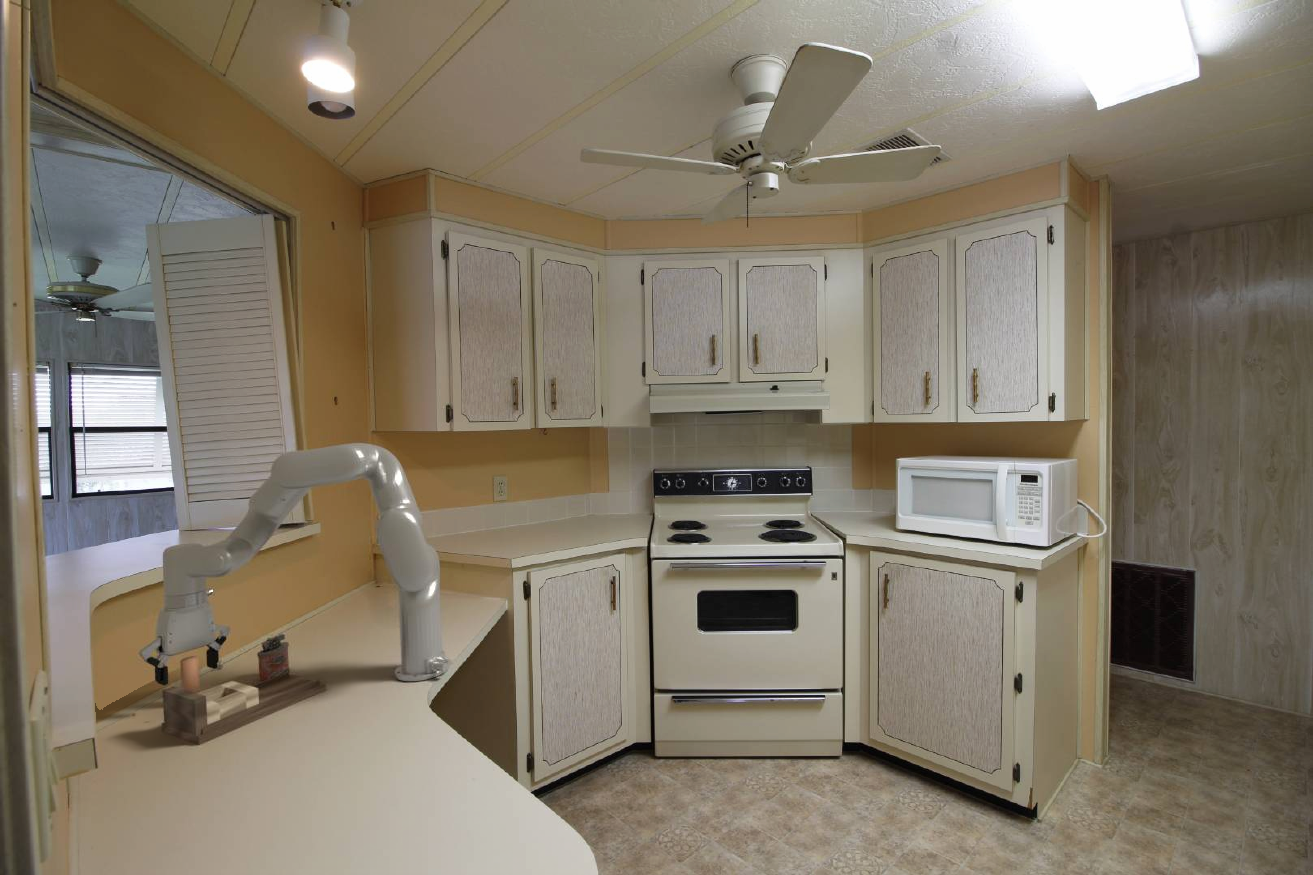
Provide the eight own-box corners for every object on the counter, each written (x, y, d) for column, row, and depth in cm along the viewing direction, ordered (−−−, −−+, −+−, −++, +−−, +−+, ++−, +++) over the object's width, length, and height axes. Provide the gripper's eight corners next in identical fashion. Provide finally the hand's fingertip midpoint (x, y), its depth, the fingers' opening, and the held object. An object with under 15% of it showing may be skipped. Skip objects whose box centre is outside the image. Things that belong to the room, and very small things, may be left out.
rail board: (326, 689, 139) (324, 653, 139) (199, 744, 116) (197, 701, 116) (289, 680, 146) (287, 645, 145) (162, 730, 122) (160, 689, 122)
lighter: (266, 685, 143) (264, 643, 143) (254, 684, 144) (252, 643, 144) (293, 671, 151) (291, 632, 151) (282, 670, 152) (280, 631, 151)
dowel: (203, 701, 136) (201, 657, 135) (187, 707, 133) (184, 662, 133) (195, 698, 137) (193, 655, 137) (179, 704, 134) (177, 660, 134)
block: (259, 706, 128) (258, 688, 128) (206, 728, 119) (205, 708, 119) (232, 698, 132) (231, 680, 132) (179, 719, 123) (178, 699, 123)
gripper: (218, 588, 144) (221, 659, 144) (129, 608, 128) (132, 687, 129) (236, 591, 140) (239, 664, 141) (147, 612, 125) (150, 693, 125)
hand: (188, 675), depth 135 cm, fingers open, 9 cm apart
